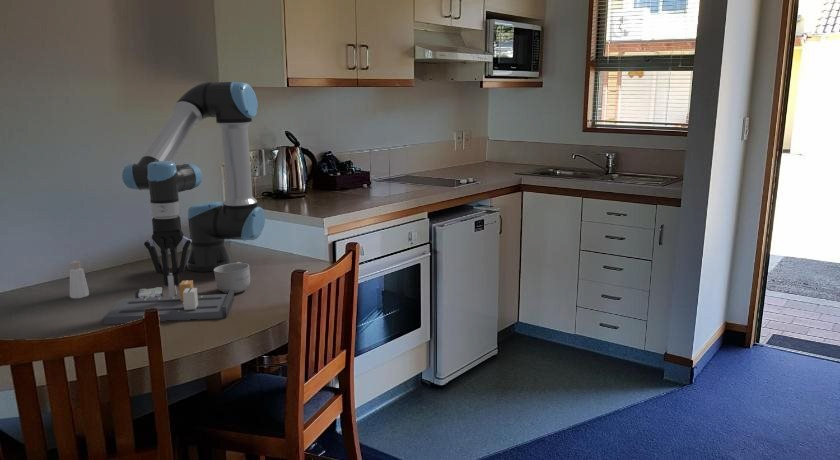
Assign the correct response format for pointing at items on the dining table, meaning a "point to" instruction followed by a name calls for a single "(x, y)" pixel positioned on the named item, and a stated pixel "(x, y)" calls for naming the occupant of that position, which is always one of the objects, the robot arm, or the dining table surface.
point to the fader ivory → (190, 298)
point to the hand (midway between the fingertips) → (173, 295)
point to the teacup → (232, 277)
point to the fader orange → (184, 285)
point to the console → (171, 308)
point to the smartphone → (150, 292)
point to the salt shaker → (78, 281)
